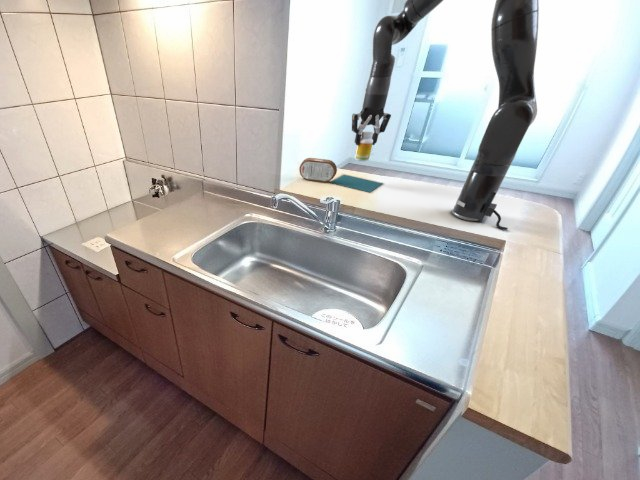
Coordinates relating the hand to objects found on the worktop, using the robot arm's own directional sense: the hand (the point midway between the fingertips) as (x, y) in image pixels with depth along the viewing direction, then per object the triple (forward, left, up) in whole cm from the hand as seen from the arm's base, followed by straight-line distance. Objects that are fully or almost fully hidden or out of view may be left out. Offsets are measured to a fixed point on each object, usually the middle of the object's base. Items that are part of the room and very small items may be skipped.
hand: (365, 144), depth 123 cm
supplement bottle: (0, 0, -6) cm, 6 cm away
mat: (0, 0, -15) cm, 15 cm away
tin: (+14, +8, -15) cm, 22 cm away
